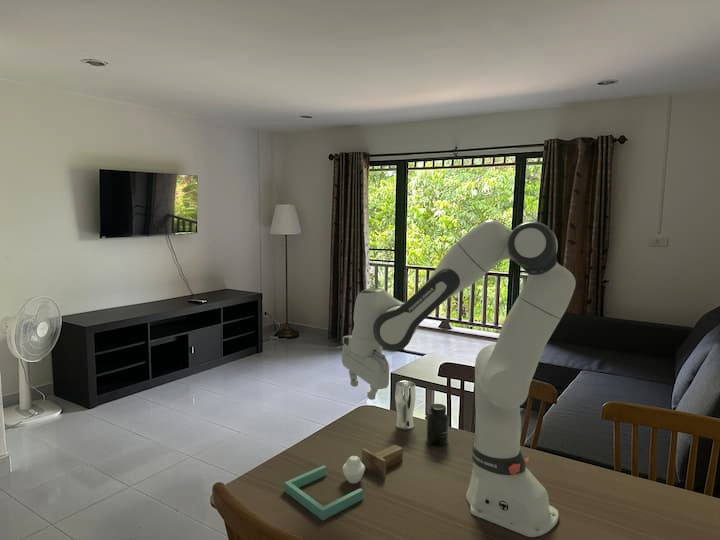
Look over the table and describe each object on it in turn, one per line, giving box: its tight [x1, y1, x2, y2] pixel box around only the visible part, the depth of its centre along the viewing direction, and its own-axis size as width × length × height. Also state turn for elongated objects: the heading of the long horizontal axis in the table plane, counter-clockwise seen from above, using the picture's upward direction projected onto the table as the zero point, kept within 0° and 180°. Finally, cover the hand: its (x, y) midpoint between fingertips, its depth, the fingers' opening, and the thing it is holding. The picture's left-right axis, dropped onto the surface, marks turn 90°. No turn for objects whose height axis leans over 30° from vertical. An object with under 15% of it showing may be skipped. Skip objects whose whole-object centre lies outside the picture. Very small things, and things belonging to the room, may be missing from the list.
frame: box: [283, 464, 364, 521], centre depth 127 cm, size 16×13×2 cm
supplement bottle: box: [426, 403, 450, 447], centre depth 156 cm, size 7×7×12 cm
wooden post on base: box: [361, 444, 404, 478], centre depth 142 cm, size 9×11×5 cm
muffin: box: [342, 455, 366, 484], centre depth 134 cm, size 6×6×7 cm
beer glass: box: [394, 380, 417, 431], centre depth 168 cm, size 7×7×15 cm
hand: (362, 392), depth 138 cm, fingers open, 8 cm apart
